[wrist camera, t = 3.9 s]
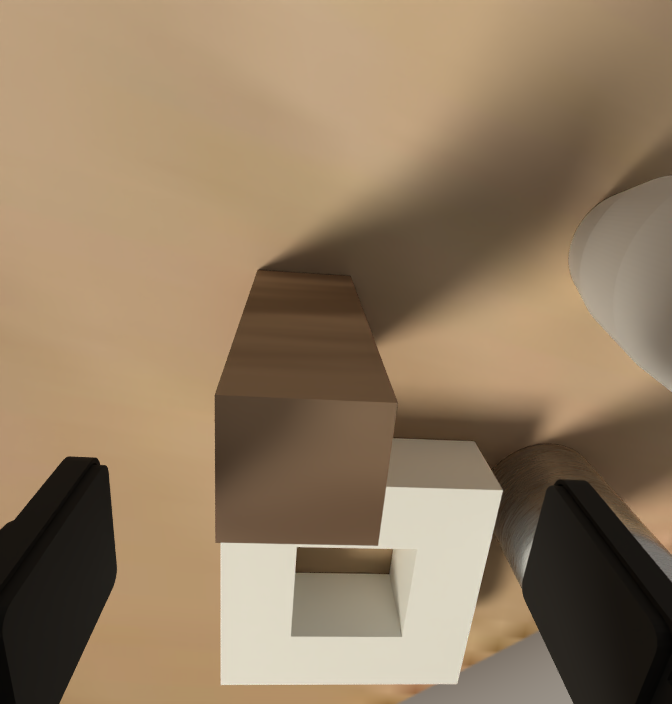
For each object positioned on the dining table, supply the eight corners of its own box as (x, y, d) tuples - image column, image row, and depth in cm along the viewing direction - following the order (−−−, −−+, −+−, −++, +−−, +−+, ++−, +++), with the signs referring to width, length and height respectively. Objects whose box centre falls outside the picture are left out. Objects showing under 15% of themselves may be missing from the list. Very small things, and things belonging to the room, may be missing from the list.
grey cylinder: (493, 441, 26) (598, 603, 17) (606, 445, 27) (767, 604, 18) (472, 536, 29) (555, 726, 19) (577, 538, 29) (707, 724, 20)
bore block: (232, 432, 25) (220, 481, 21) (474, 441, 26) (502, 490, 23) (230, 616, 30) (220, 684, 26) (438, 618, 31) (457, 683, 27)
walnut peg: (257, 269, 22) (214, 394, 11) (350, 275, 23) (398, 402, 12) (255, 356, 24) (215, 542, 13) (342, 360, 24) (378, 546, 13)
